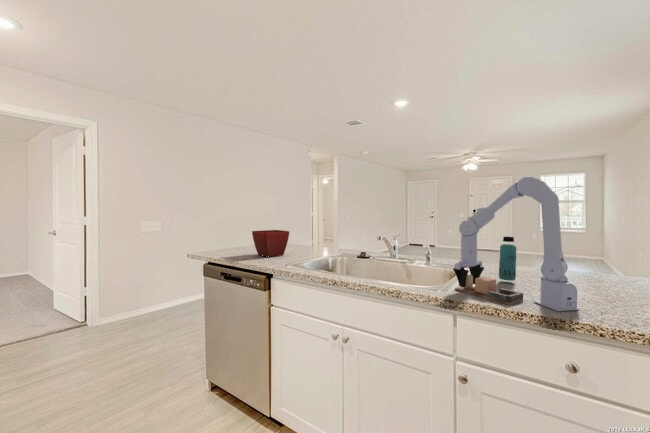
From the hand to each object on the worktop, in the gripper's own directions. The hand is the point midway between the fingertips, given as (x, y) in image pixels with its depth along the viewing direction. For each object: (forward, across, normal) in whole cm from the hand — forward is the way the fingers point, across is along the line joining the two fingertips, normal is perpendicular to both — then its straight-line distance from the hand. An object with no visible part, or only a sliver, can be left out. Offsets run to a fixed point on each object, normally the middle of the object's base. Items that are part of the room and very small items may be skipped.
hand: (468, 285), depth 121 cm
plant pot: (+2, +38, -123) cm, 129 cm away
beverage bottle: (+2, -26, 0) cm, 26 cm away
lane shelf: (+2, 0, +8) cm, 8 cm away
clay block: (+1, 0, +4) cm, 4 cm away
